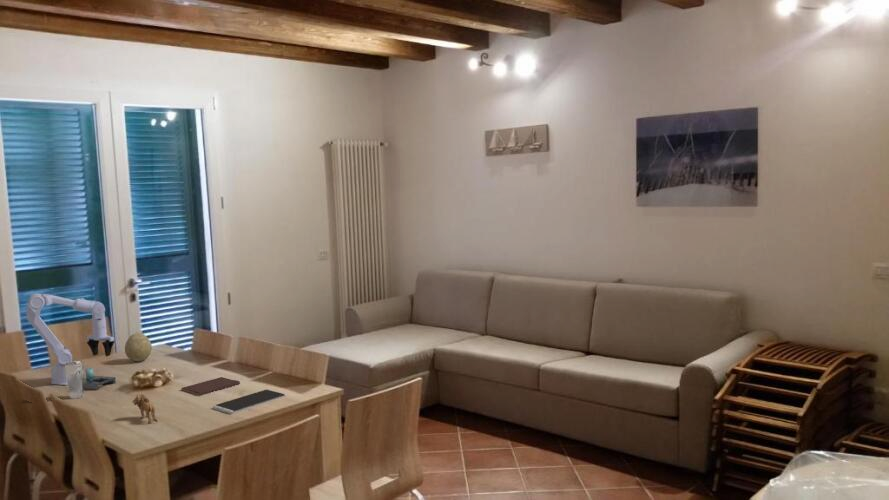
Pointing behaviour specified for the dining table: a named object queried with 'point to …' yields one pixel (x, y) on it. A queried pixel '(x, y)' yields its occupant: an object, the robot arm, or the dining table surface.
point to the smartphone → (248, 401)
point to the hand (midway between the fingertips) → (101, 355)
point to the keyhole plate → (97, 382)
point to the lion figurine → (145, 407)
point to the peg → (89, 374)
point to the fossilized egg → (138, 347)
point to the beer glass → (74, 379)
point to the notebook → (210, 386)
